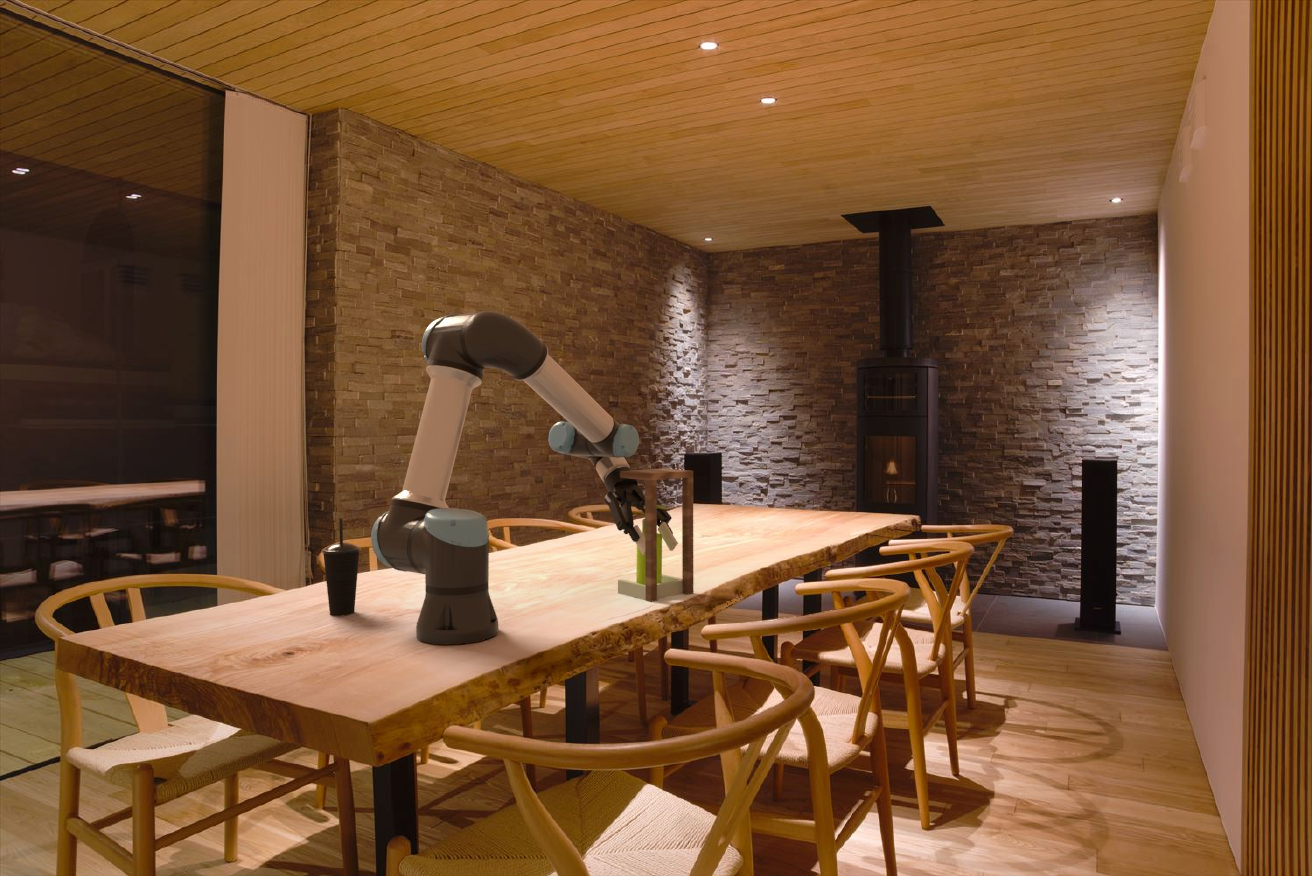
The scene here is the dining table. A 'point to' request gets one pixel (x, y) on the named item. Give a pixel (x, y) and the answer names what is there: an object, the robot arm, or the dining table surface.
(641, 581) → the soap dispenser
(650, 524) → the wooden post arch
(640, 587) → the holder
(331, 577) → the drinking cup
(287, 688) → the dining table surface
